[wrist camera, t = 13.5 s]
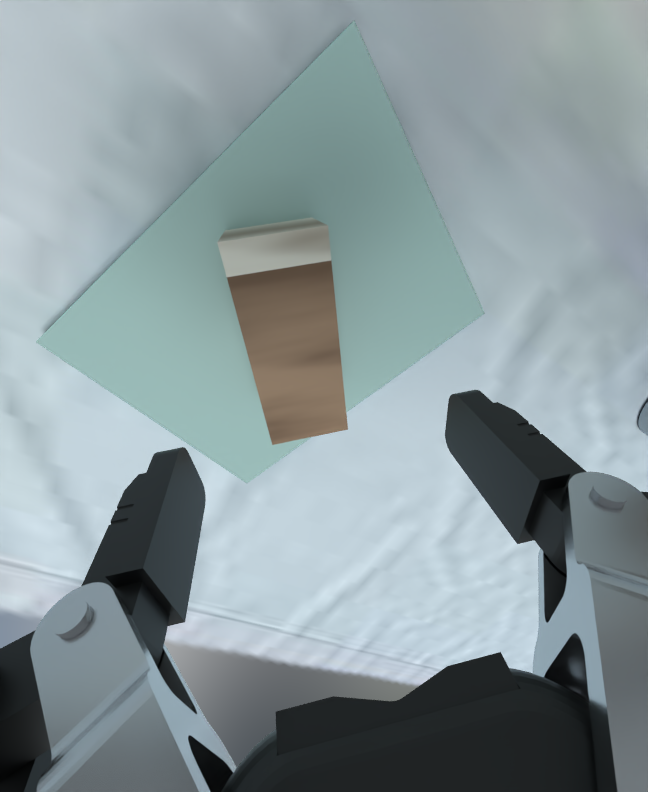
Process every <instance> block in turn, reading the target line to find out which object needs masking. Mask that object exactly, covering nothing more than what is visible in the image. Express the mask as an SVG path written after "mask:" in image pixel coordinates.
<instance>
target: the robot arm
mask: <svg viewBox="0 0 648 792" xmlns="http://www.w3.org/2000/svg"><path fill="white" fill-rule="evenodd" d="M638 425H639V428H640V430H641V431H642V432H643V433H645V434H646V435H648V402H647V403H646V405H645V406H644V408H643V410H642V412H641V414H640V417H639V424H638ZM539 432H540V431H538V430H537V429H536V428H535V427H534V426H533V425H531V424H530V425H529V423H528V421H527V420H526V419H524V418H523V417H522V416H521V415H520V414H519V413H517V412H516V411H515V410H513V409H511V408H509V407H506V406H504V405H502V404H500V403H498V402H497V403H493V402H492V401H490V400H489V399H488V398H487V397H486V396H485V395H484V394H483V393H482V392H480V391H479V390H472V391H467V392H462V393H457V394H452V395H451V396H450V398H449V403H448V412H447V421H446V430H445V438H446V443H447V446H448V448H449V451H450V452H451V454H452V455H453V457H454V458H455V459H456V461H457V462H458V463H459V465H460V466H461V467H462V469H463V470H464V472H465V473H466V474H467V476H468V477H469V478H470V480H471V481H472V483H473V484H474V485H475V487H476V488H477V489H478V491H479V492H480V493H481V495H482V496H483V498H484V499H485V500H486V502H487V503H488V504H489V506H490V507H491V509H492V510H493V511H494V513H495V514H496V515H497V517H498V518H499V519H500V521H501V522H502V524H503V525H504V526H505V528H506V529H507V530H508V532H509V533H510V535H511V536H512V537H513V539H514V540H515V541H516V543H517V544H520V543H524V542H528V541H532V540H535V541H536V543H537V544H538V545H539V547H540V548H541V549H540V551H539V555H538V582H539V629H538V637H537V642H536V646H535V652H534V660H533V674H532V673H529V672H525V671H521V670H516V669H511V668H509V667H508V666H507V664H506V662H505V660H504V658H503V656H502V654H501V652H500V653H496V654H492V655H488V656H484V657H481V658H477V659H473V660H469V661H466V662H462V663H458V664H454V665H451V666H447V667H446V668H444V669H443V670H442V671H440V672H439V673H437V674H436V675H434V676H433V677H432V678H430V679H429V680H427V681H426V682H424V683H423V684H422V685H420V686H419V687H417V688H416V689H415V690H413V691H412V692H410V693H409V694H408V695H406V696H405V697H403V698H402V699H400V700H397V701H390V702H389V701H378V700H366V699H356V698H344V697H330V698H326V699H322V700H319V701H315V702H311V703H307V704H303V705H300V706H296V707H292V708H288V709H285V710H281V711H277V712H276V730H274V731H273V732H271V733H270V734H268V735H267V736H266V737H265V738H264V739H263V740H262V741H260V742H259V743H258V744H257V745H256V746H255V747H254V748H253V749H252V750H251V751H250V752H249V754H248V755H247V756H246V757H245V758H244V759H243V760H242V761H241V763H240V764H239V766H238V767H236V766H235V764H234V762H233V760H232V758H231V757H230V755H229V753H228V751H227V750H226V748H225V746H224V745H223V743H222V741H221V740H220V738H219V737H218V735H217V734H216V733H215V731H214V730H213V728H212V727H211V726H210V724H209V723H208V721H207V720H206V719H205V717H204V715H203V713H202V712H201V710H200V708H199V706H198V704H197V702H196V701H195V699H194V697H193V695H192V693H191V691H190V690H189V688H188V686H187V684H186V682H185V681H184V679H183V677H182V675H181V673H180V671H179V670H178V668H177V666H176V664H175V662H174V660H173V659H172V657H171V655H170V653H169V651H168V649H167V647H166V646H165V645H164V641H165V636H166V631H167V626H170V625H174V624H178V623H183V622H185V618H186V612H187V607H188V601H189V595H190V589H191V583H192V578H193V572H194V566H195V560H196V554H197V549H198V543H199V537H200V531H201V525H202V520H203V514H204V508H205V490H204V486H203V483H202V481H201V479H200V476H199V474H198V472H197V470H196V468H195V466H194V464H193V462H192V460H191V457H190V455H189V453H188V451H187V450H186V449H185V448H183V447H182V448H177V449H172V450H167V451H162V452H157V453H155V454H154V456H153V458H152V460H151V463H150V465H149V468H148V470H147V473H144V474H139V475H138V476H137V477H136V478H135V479H134V480H133V481H132V483H131V484H130V485H129V486H128V487H127V488H126V489H125V491H124V493H123V495H122V497H121V499H120V502H119V504H118V506H117V511H115V513H114V515H113V517H112V520H111V525H109V526H108V528H107V531H106V533H105V535H104V537H103V540H102V542H101V544H100V546H99V548H98V551H97V553H96V555H95V557H94V560H93V562H92V564H91V566H90V569H89V571H88V573H87V575H86V577H85V580H84V582H83V584H82V586H81V587H79V588H77V589H75V590H73V591H71V592H70V593H68V594H67V595H65V596H64V597H63V598H62V599H60V600H59V601H58V602H57V603H56V604H55V605H54V606H53V607H52V608H51V609H50V610H49V611H48V612H47V613H46V615H45V616H44V617H43V619H42V620H41V622H40V623H39V625H38V627H37V629H36V630H35V631H33V632H32V633H30V634H28V635H26V636H24V637H22V638H20V639H18V640H16V641H14V642H12V643H10V644H8V645H7V646H5V647H3V648H1V649H0V792H648V492H640V491H639V490H638V489H636V488H635V487H634V486H632V485H631V484H629V483H627V482H625V481H624V480H621V479H619V478H617V477H614V476H611V475H608V474H604V473H599V472H586V471H585V470H584V469H583V468H581V467H580V466H579V465H578V464H577V463H576V462H574V461H573V460H572V459H571V458H570V457H569V456H567V455H566V454H565V453H564V452H563V451H562V450H560V449H559V448H558V447H557V446H556V445H555V444H554V443H552V442H551V441H550V440H549V439H548V438H547V437H545V436H544V435H543V434H540V433H539Z"/></svg>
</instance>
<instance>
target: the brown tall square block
mask: <svg viewBox="0 0 648 792" xmlns="http://www.w3.org/2000/svg"><path fill="white" fill-rule="evenodd" d="M217 244H218V247H219V251H220V255H221V258H222V262H223V266H224V269H225V273H226V277H227V280H228V284H229V288H230V291H231V295H232V299H233V302H234V306H235V310H236V313H237V317H238V321H239V325H240V328H241V332H242V336H243V339H244V343H245V347H246V350H247V354H248V358H249V361H250V365H251V369H252V372H253V376H254V380H255V383H256V387H257V391H258V394H259V398H260V402H261V405H262V409H263V413H264V416H265V420H266V424H267V427H268V431H269V435H270V438H271V442H272V445H275V444H280V443H285V442H290V441H294V440H299V439H304V438H309V437H313V436H318V435H323V434H328V433H333V432H337V431H342V430H347V429H348V426H347V416H346V405H345V395H344V385H343V374H342V364H341V354H340V343H339V333H338V323H337V313H336V302H335V292H334V282H333V271H332V261H331V251H330V240H329V230H328V225H326V224H324V223H322V222H320V221H318V220H316V219H314V218H312V217H310V218H304V219H297V220H290V221H284V222H277V223H270V224H264V225H257V226H250V227H243V228H237V229H230V230H225V231H224V233H223V234H222V236H221V237H220V239H219V240H218V242H217Z"/></svg>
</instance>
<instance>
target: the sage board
mask: <svg viewBox="0 0 648 792" xmlns="http://www.w3.org/2000/svg"><path fill="white" fill-rule="evenodd" d="M310 217H312V218H314V219H316V220H318V221H320V222H322V223H324V224H326V225H328V230H329V240H330V251H331V261H332V271H333V282H334V292H335V302H336V313H337V323H338V333H339V343H340V354H341V364H342V374H343V385H344V395H345V405H346V412H348V411H349V410H350V409H352V408H353V407H355V406H356V405H357V404H359V403H360V402H361V401H363V400H364V399H366V398H367V397H368V396H370V395H371V394H373V393H374V392H375V391H377V390H378V389H380V388H381V387H382V386H384V385H385V384H387V383H388V382H389V381H391V380H392V379H394V378H395V377H396V376H398V375H399V374H401V373H402V372H403V371H405V370H406V369H408V368H409V367H410V366H412V365H413V364H415V363H416V362H417V361H419V360H420V359H422V358H423V357H424V356H426V355H427V354H429V353H430V352H431V351H433V350H434V349H436V348H437V347H438V346H440V345H441V344H443V343H444V342H445V341H447V340H448V339H450V338H451V337H452V336H454V335H455V334H457V333H458V332H459V331H461V330H462V329H464V328H465V327H466V326H468V325H469V324H471V323H472V322H473V321H475V320H476V319H478V318H479V317H480V316H482V315H483V314H485V313H484V311H483V309H482V307H481V304H480V302H479V300H478V298H477V295H476V293H475V291H474V289H473V286H472V284H471V282H470V280H469V277H468V275H467V273H466V271H465V268H464V266H463V264H462V262H461V259H460V257H459V255H458V253H457V250H456V248H455V246H454V244H453V241H452V239H451V237H450V235H449V232H448V230H447V228H446V226H445V223H444V221H443V219H442V217H441V214H440V212H439V210H438V208H437V205H436V203H435V201H434V199H433V196H432V194H431V192H430V190H429V187H428V185H427V183H426V181H425V178H424V176H423V174H422V172H421V169H420V167H419V165H418V163H417V160H416V158H415V156H414V154H413V151H412V149H411V147H410V145H409V143H408V140H407V138H406V136H405V134H404V131H403V129H402V127H401V125H400V122H399V120H398V118H397V116H396V113H395V111H394V109H393V107H392V104H391V102H390V100H389V98H388V95H387V93H386V91H385V89H384V86H383V84H382V82H381V80H380V77H379V75H378V73H377V71H376V68H375V66H374V64H373V62H372V59H371V57H370V55H369V53H368V50H367V48H366V46H365V44H364V41H363V39H362V37H361V35H360V32H359V30H358V28H357V26H356V23H355V21H353V22H352V23H351V24H350V25H349V26H348V27H347V28H346V29H345V30H344V31H343V32H342V33H341V34H340V35H339V36H338V37H337V38H336V39H335V40H334V41H333V42H332V43H331V44H330V45H329V46H328V47H327V48H326V49H325V50H324V51H323V52H322V53H321V54H320V55H319V56H318V57H317V58H316V59H315V60H314V61H313V62H312V63H311V64H310V65H309V66H308V67H307V68H306V69H305V70H304V71H303V72H302V73H301V74H300V75H299V76H298V77H297V78H296V79H295V80H294V81H293V82H292V83H291V84H290V86H289V87H288V88H287V89H286V90H285V91H284V92H283V93H282V94H281V95H280V96H279V97H278V98H277V99H276V100H275V101H274V102H273V103H272V104H271V105H270V106H269V107H268V108H267V109H266V110H265V111H264V112H263V113H262V114H261V115H260V116H259V117H258V118H257V119H256V120H255V121H254V122H253V123H252V124H251V125H250V126H249V127H248V128H247V129H246V130H245V131H244V132H243V133H242V134H241V135H240V136H239V137H238V138H237V139H236V140H235V141H234V142H233V143H232V144H231V145H230V146H229V147H228V148H227V149H226V150H225V151H224V152H223V153H222V154H221V155H220V156H219V157H218V158H217V159H216V160H215V161H214V162H213V163H212V164H211V165H210V166H209V167H208V168H207V169H206V170H205V171H204V172H203V173H202V174H201V175H200V176H199V177H198V178H197V179H196V180H195V181H194V182H193V183H192V184H191V185H190V187H189V188H188V189H187V190H186V191H185V192H184V193H183V194H182V195H181V196H180V197H179V198H178V199H177V200H176V201H175V202H174V203H173V204H172V205H171V206H170V207H169V208H168V209H167V210H166V211H165V212H164V213H163V214H162V215H161V216H160V217H159V218H158V219H157V220H156V221H155V222H154V223H153V224H152V225H151V226H150V227H149V228H148V229H147V230H146V231H145V232H144V233H143V234H142V235H141V236H140V237H139V238H138V239H137V240H136V241H135V242H134V243H133V244H132V245H131V246H130V247H129V248H128V249H127V250H126V251H125V252H124V253H123V254H122V255H121V256H120V257H119V258H118V259H117V260H116V261H115V262H114V263H113V264H112V265H111V266H110V267H109V268H108V269H107V270H106V271H105V272H104V273H103V274H102V275H101V276H100V277H99V278H98V279H97V280H96V281H95V282H94V283H93V284H92V285H91V286H90V288H89V289H88V290H87V291H86V292H85V293H84V294H83V295H82V296H81V297H80V298H79V299H78V300H77V301H76V302H75V303H74V304H73V305H72V306H71V307H70V308H69V309H68V310H67V311H66V312H65V313H64V314H63V315H62V316H61V317H60V318H59V319H58V320H57V321H56V322H55V323H54V324H53V325H52V326H51V327H50V328H49V329H48V330H47V331H46V332H45V333H44V334H43V335H42V336H41V337H40V338H39V339H38V340H37V341H36V342H37V343H38V344H40V345H41V346H43V347H44V348H46V349H47V350H48V351H50V352H51V353H53V354H54V355H56V356H57V357H59V358H60V359H62V360H63V361H65V362H66V363H68V364H69V365H71V366H72V367H74V368H75V369H77V370H78V371H80V372H81V373H83V374H84V375H86V376H87V377H89V378H90V379H92V380H93V381H95V382H96V383H98V384H99V385H101V386H102V387H104V388H105V389H107V390H108V391H110V392H111V393H113V394H114V395H116V396H117V397H119V398H120V399H122V400H123V401H125V402H126V403H128V404H129V405H131V406H132V407H134V408H135V409H137V410H138V411H140V412H141V413H143V414H144V415H145V416H147V417H148V418H150V419H151V420H153V421H154V422H156V423H157V424H159V425H160V426H162V427H163V428H165V429H166V430H168V431H169V432H171V433H172V434H174V435H175V436H177V437H178V438H180V439H181V440H183V441H184V442H186V443H187V444H189V445H190V446H192V447H193V448H195V449H196V450H198V451H199V452H201V453H202V454H204V455H205V456H207V457H208V458H210V459H211V460H213V461H214V462H216V463H217V464H219V465H220V466H222V467H223V468H225V469H226V470H228V471H229V472H231V473H232V474H234V475H235V476H237V477H238V478H240V479H241V480H243V481H244V482H245V483H248V482H250V481H251V480H252V479H254V478H255V477H257V476H258V475H259V474H261V473H262V472H264V471H265V470H266V469H268V468H269V467H271V466H272V465H273V464H275V463H276V462H278V461H279V460H280V459H282V458H283V457H285V456H286V455H287V454H289V453H290V452H292V451H293V450H294V449H296V448H297V447H299V446H300V445H301V444H303V443H304V442H306V441H307V440H308V439H310V438H311V437H309V438H304V439H299V440H294V441H290V442H285V443H280V444H275V445H272V442H271V438H270V435H269V431H268V427H267V424H266V420H265V416H264V413H263V409H262V405H261V402H260V398H259V394H258V391H257V387H256V383H255V380H254V376H253V372H252V369H251V365H250V361H249V358H248V354H247V350H246V347H245V343H244V339H243V336H242V332H241V328H240V325H239V321H238V317H237V313H236V310H235V306H234V302H233V299H232V295H231V291H230V288H229V284H228V280H227V277H226V273H225V269H224V266H223V262H222V258H221V255H220V251H219V247H218V244H217V242H218V240H219V239H220V237H221V236H222V234H223V233H224V231H225V230H230V229H237V228H243V227H250V226H257V225H264V224H270V223H277V222H284V221H290V220H297V219H304V218H310Z"/></svg>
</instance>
